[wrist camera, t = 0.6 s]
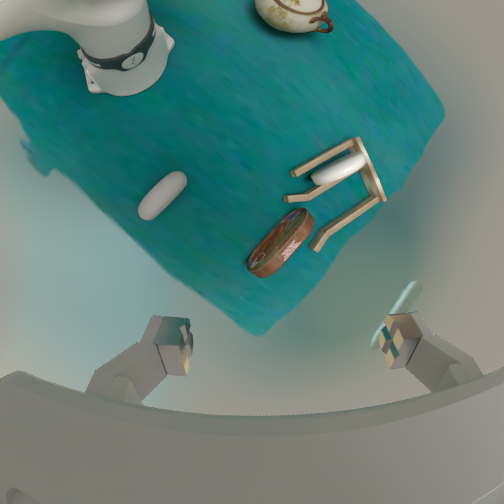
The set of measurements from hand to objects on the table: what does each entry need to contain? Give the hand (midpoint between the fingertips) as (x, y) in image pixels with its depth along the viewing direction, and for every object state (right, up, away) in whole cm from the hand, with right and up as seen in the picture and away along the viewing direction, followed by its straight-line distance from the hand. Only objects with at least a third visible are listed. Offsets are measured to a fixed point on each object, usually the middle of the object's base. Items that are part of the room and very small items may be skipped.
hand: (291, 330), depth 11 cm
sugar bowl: (+5, +54, +33) cm, 63 cm away
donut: (-17, +13, +37) cm, 43 cm away
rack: (+14, +15, +44) cm, 48 cm away
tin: (+3, +6, +44) cm, 44 cm away
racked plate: (+13, +20, +42) cm, 48 cm away
